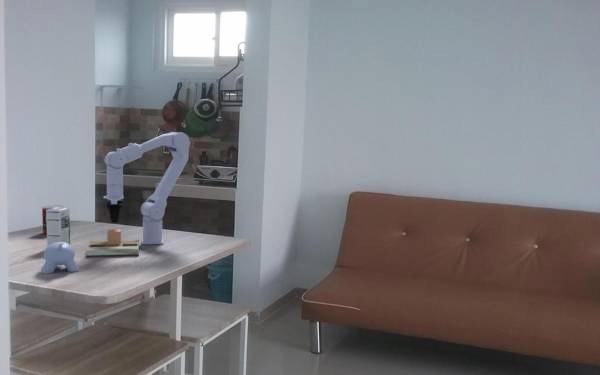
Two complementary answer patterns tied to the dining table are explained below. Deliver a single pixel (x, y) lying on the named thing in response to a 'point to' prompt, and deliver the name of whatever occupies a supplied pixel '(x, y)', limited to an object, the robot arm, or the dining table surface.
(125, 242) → the board
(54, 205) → the canned food
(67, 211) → the syrup box
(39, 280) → the dining table surface
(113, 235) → the terracotta cube
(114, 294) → the dining table surface
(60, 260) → the hippopotamus toy
